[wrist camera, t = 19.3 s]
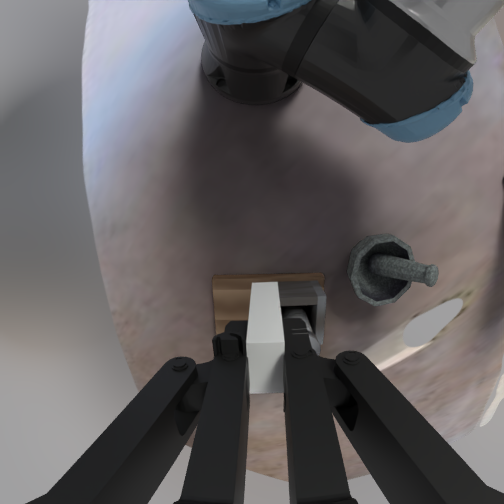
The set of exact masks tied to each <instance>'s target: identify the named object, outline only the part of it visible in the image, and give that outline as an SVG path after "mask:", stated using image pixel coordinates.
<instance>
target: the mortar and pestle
mask: <svg viewBox="0 0 504 504" xmlns="http://www.w3.org/2000/svg"><path fill="white" fill-rule="evenodd" d="M347 274H348V276H349V279H350V281H351V284H352V286H353V289H354V292H355V294H356V295H357V297H358V298H360V299H362V300H364V301H366V302H368V303H370V304H371V305H373V306H380V305H385V304H389V303H394V302H396V301H397V300H398V299H399V298H400V297H401V296H402V295H403V294H404V293H405V292H406V291H407V290H408V289H409V288H410V286H411V283H412V281H414V282H420V283H425V284H426V285H427V286H429V287H432V286H433V285H435V283H436V281H437V279H438V267H437V266H436V265H434V264H431V265H429V266H428V265H425V264H421V263H418V262H415V260H414V257H413V253H412V250H411V247H410V246H409V245H407V244H406V243H404V242H403V241H401V240H400V239H398V238H397V237H395V236H394V235H391V234H380V235H373V236H367V237H366V238H365V239H364V240H362V241H360V242H359V243H358V244H357V245H356V246H355V247H354V248H353V249H352V251H351V255H350V259H349V264H348V268H347Z"/></svg>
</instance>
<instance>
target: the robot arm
mask: <svg viewBox="0 0 504 504" xmlns="http://www.w3.org/2000/svg"><path fill="white" fill-rule="evenodd" d="M188 2H189V7H190V10H191V11H192V13H193V14H194V16H195V18H196V21H197V23H198V25H199V27H200V30H201V32H202V34H203V36H204V39H205V42H204V45H203V48H202V54H201V61H202V67H203V70H204V73H205V75H206V77H207V79H208V81H209V82H210V84H211V85H212V86H213V87H214V89H215V90H216V91H218V92H219V93H220V94H221V95H223V96H224V97H226V98H228V99H230V100H232V101H235V102H238V103H242V104H248V105H263V104H269V103H273V102H276V101H279V100H281V99H283V98H285V97H287V96H288V95H290V94H291V93H292V92H294V91H295V90H296V89H297V88H298V87H299V85H300V84H301V82H303V83H305V84H306V85H308V86H310V87H312V88H313V89H315V90H317V91H319V92H320V93H322V94H324V95H325V96H327V97H329V98H330V99H332V100H334V101H335V102H337V103H338V104H340V105H342V106H343V107H345V108H346V109H348V110H349V111H351V112H352V113H354V114H355V115H357V116H358V117H360V120H361V121H362V122H364V123H365V124H366V125H369V126H372V127H375V128H376V129H378V130H379V131H381V132H382V133H384V134H385V135H387V136H388V137H390V138H391V139H393V140H395V141H401V142H406V143H410V142H417V141H421V140H424V139H426V138H429V137H431V136H433V135H435V134H436V133H438V132H440V131H441V130H443V129H444V128H445V127H447V126H448V125H449V124H450V123H451V122H453V121H454V120H455V119H456V118H457V116H458V115H459V114H460V113H461V112H462V108H461V107H462V106H463V105H465V104H467V103H468V102H469V100H470V97H471V95H472V91H473V79H472V77H471V75H470V72H469V69H470V68H471V67H472V66H473V65H474V64H475V63H476V61H477V57H476V49H475V36H476V35H477V34H478V33H479V32H480V31H481V30H482V29H483V28H484V27H485V26H486V25H487V23H488V22H489V21H490V20H491V19H492V18H493V17H494V16H495V15H496V14H497V13H498V12H499V11H500V10H501V9H502V8H503V6H504V0H188ZM212 343H213V350H214V360H212V361H210V362H207V363H202V364H196V363H195V361H194V360H193V359H191V358H189V357H175V358H173V359H170V360H169V361H167V362H166V363H165V364H164V365H163V366H162V368H161V369H160V370H159V371H158V372H157V373H156V374H155V375H154V376H153V378H152V379H151V380H150V381H149V382H148V383H147V384H146V385H145V387H144V388H143V389H142V390H141V391H140V392H139V393H138V394H137V396H135V398H134V399H133V400H132V401H131V402H130V403H129V404H128V405H127V406H126V408H125V409H124V410H123V411H122V412H121V413H120V414H119V415H118V416H117V418H116V419H115V420H114V421H113V422H112V423H111V424H110V425H109V426H108V427H107V429H106V430H105V431H104V432H103V433H102V434H101V435H100V436H99V437H98V438H97V440H96V441H95V442H94V443H93V444H92V445H91V446H90V447H89V448H88V449H87V450H86V452H85V453H84V454H83V455H82V456H81V457H80V458H79V459H78V460H77V462H76V463H74V465H73V466H72V467H71V468H70V469H69V470H68V471H67V472H66V473H65V474H64V476H63V477H62V478H61V479H60V480H59V481H58V482H57V483H56V484H55V485H54V486H53V487H52V488H51V490H49V492H48V493H47V494H45V495H43V496H41V497H39V498H37V499H34V500H32V501H30V502H28V503H26V504H148V502H149V501H150V499H151V497H152V496H153V494H154V493H155V491H156V490H157V488H158V487H159V485H160V484H161V482H162V481H163V479H164V477H165V476H166V474H167V473H168V471H169V470H170V468H171V466H172V465H173V463H174V462H175V460H176V459H177V457H178V455H179V454H180V452H181V450H182V449H183V447H184V446H185V444H186V442H187V441H188V439H189V437H190V436H191V434H192V433H193V431H194V429H195V428H196V426H197V430H196V434H195V438H194V442H193V446H192V451H191V455H190V459H189V463H188V468H187V473H186V476H185V481H184V485H183V489H182V494H181V497H180V499H179V501H176V502H174V503H173V504H243V503H244V490H245V474H246V458H247V442H248V425H249V408H250V397H249V391H250V394H251V393H284V412H285V425H286V441H287V458H288V476H289V495H290V504H358V502H357V501H356V499H354V498H352V497H351V495H350V491H349V486H348V482H347V477H346V472H345V468H344V463H343V459H342V454H341V450H340V445H339V441H338V437H337V432H336V428H335V424H334V420H333V415H334V417H335V418H336V420H337V422H338V423H339V425H340V426H341V428H342V430H343V431H344V433H345V434H346V436H347V437H348V439H349V441H350V442H351V444H352V445H353V447H354V449H355V450H356V452H357V453H358V455H359V457H360V458H361V460H362V461H363V463H364V464H365V466H366V468H367V469H368V471H369V472H370V474H371V475H372V477H373V478H374V480H375V482H376V483H377V485H378V486H379V488H380V489H381V491H382V492H383V494H384V496H385V497H386V499H387V500H388V502H389V503H390V504H504V493H501V492H499V491H497V490H495V489H493V488H491V487H489V486H487V485H486V484H485V483H484V482H483V481H482V480H481V479H480V478H479V477H478V476H477V474H476V473H475V472H474V471H473V470H472V469H471V468H470V467H469V466H468V465H467V464H466V462H465V461H464V460H463V459H462V458H461V457H460V456H459V455H458V454H457V453H456V452H455V451H454V449H452V447H451V446H450V445H449V444H448V443H447V442H446V441H445V440H444V439H443V438H442V437H441V435H440V434H439V433H438V432H437V431H436V430H435V429H434V428H433V427H432V426H431V425H430V424H429V423H428V421H427V420H426V419H425V418H424V417H423V416H422V415H421V414H420V413H419V412H418V411H417V410H416V409H415V408H414V407H413V405H412V404H411V403H410V402H409V401H408V400H407V399H406V398H405V397H404V396H403V395H402V394H401V393H400V392H399V391H398V390H397V388H396V387H395V386H394V385H393V384H392V383H391V382H390V381H389V380H388V379H387V378H386V377H385V376H384V375H383V374H382V373H381V372H380V371H379V369H378V368H377V367H376V366H375V365H374V364H373V363H372V362H371V361H370V360H369V359H368V358H367V357H366V356H365V355H364V354H362V353H360V352H357V351H344V352H342V353H339V354H338V355H337V356H336V359H335V360H334V359H327V358H323V357H320V356H318V355H317V353H316V351H315V350H314V349H313V348H312V346H311V342H310V338H309V334H308V330H307V326H306V322H304V321H303V320H302V319H301V318H284V319H282V315H281V307H280V299H279V291H278V283H277V282H260V283H252V288H251V298H250V308H249V319H248V320H243V321H230V322H229V323H228V324H227V325H226V326H225V330H224V332H223V333H220V334H217V335H216V336H214V338H213V339H212ZM332 413H333V415H332ZM197 424H198V425H197Z"/></svg>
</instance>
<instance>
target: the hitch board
mask: <svg viewBox="0 0 504 504" xmlns="http://www.w3.org/2000/svg"><path fill="white" fill-rule="evenodd" d="M260 282H277V283H278V291H279V299H280V306H297V305H307V311H306V315H307V318H308V320H309V323H310V326H311V329H312V332H313V333H314V334H315V335H316V337H317V339H318V342H319V345H320V344H323V336H324V324H325V311H326V297H327V296H326V294H325V293H324V275H323V274H322V273H291V274H247V275H214V276H213V278H212V288H213V301H214V313H215V325H216V335H217V334H220V333H223V332H224V330H225V326H226V325H227V324H228V323H229V322H230V321H243V320H248V319H249V308H250V298H251V288H252V283H260Z"/></svg>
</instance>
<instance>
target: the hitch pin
mask: <svg viewBox="0 0 504 504" xmlns="http://www.w3.org/2000/svg"><path fill="white" fill-rule="evenodd" d="M280 307H281V315H282V319H284V318H301V319H302V320H303V321H304V322H306V326H307V330H308V334H309V338H310V342H311V346H312V348H313V349H314V350H315V351H316V353H317V355H318V356H319V354H320V345H319V342H318V339H317V337H316V335H315V334H314V333H313V332H312V329H311V326H310V323H309V320H308V318H307V315H306V312H305V309H304V306H303V305H297V306H280Z"/></svg>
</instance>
